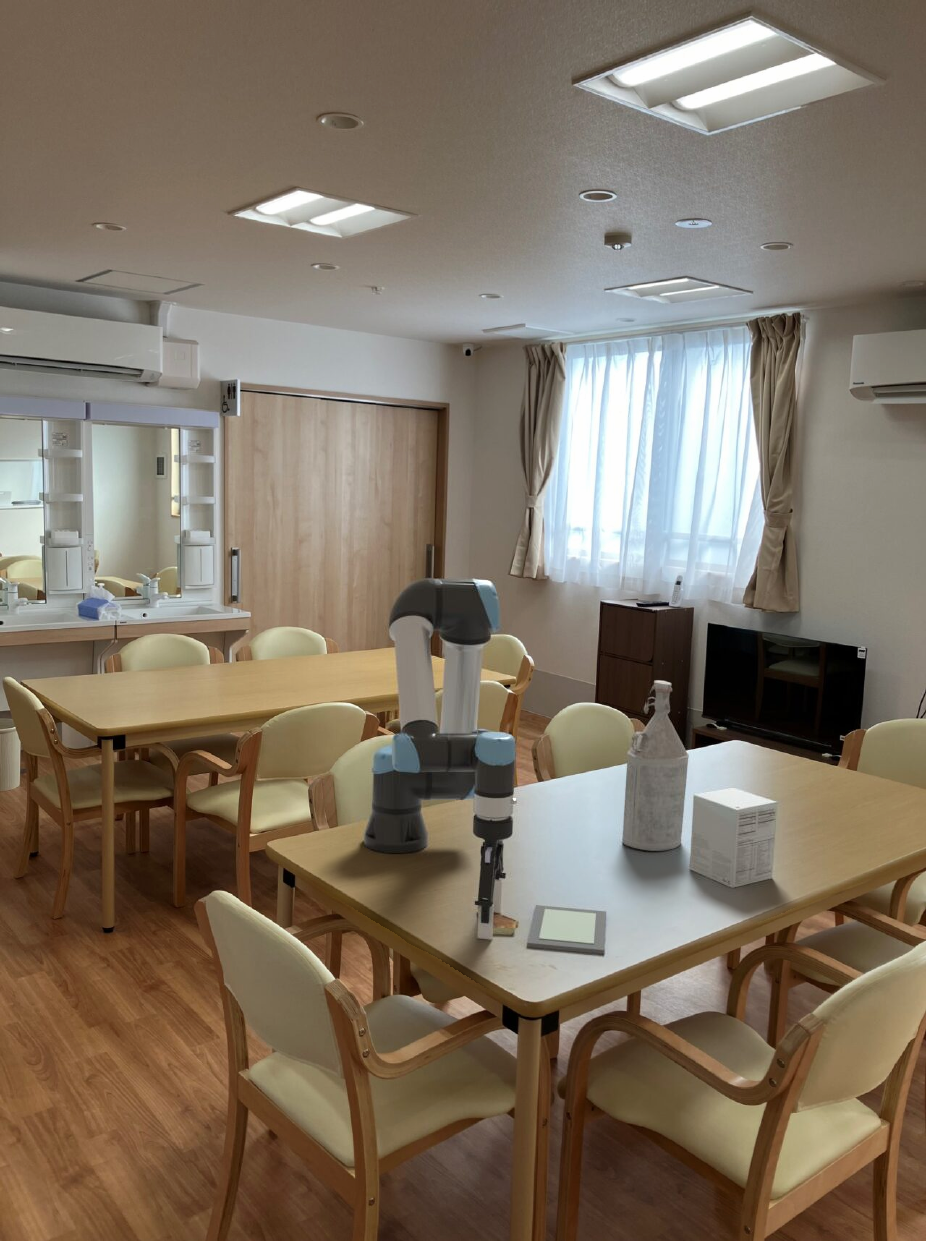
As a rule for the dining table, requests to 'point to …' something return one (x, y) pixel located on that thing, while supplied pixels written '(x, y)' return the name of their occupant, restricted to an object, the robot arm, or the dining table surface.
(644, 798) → the grey stoneware bottle
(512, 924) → the shard
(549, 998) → the dining table surface
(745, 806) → the supplement box
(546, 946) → the mat
